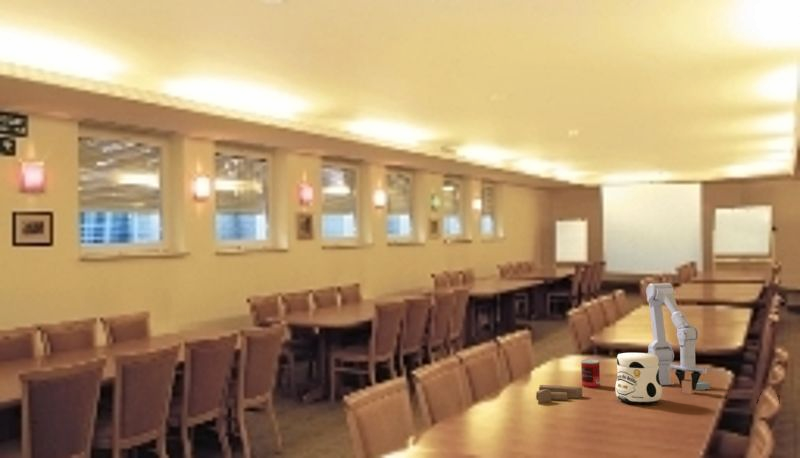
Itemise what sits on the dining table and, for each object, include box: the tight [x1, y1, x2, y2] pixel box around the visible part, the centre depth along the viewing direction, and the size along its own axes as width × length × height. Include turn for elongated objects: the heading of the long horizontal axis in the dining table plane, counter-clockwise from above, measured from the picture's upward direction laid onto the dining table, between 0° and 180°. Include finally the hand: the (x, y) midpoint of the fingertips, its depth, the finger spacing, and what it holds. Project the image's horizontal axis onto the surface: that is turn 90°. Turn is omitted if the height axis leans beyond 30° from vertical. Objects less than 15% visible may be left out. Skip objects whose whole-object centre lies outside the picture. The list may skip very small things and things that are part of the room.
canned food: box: [580, 358, 601, 389], centre depth 307 cm, size 8×8×11 cm
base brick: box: [695, 379, 711, 391], centre depth 299 cm, size 7×7×3 cm
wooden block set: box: [535, 384, 583, 405], centre depth 281 cm, size 17×6×18 cm
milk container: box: [614, 352, 663, 405], centre depth 277 cm, size 17×17×18 cm
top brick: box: [681, 378, 696, 395], centre depth 291 cm, size 4×4×5 cm
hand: (688, 389), depth 291 cm, fingers closed on top brick, 4 cm apart
